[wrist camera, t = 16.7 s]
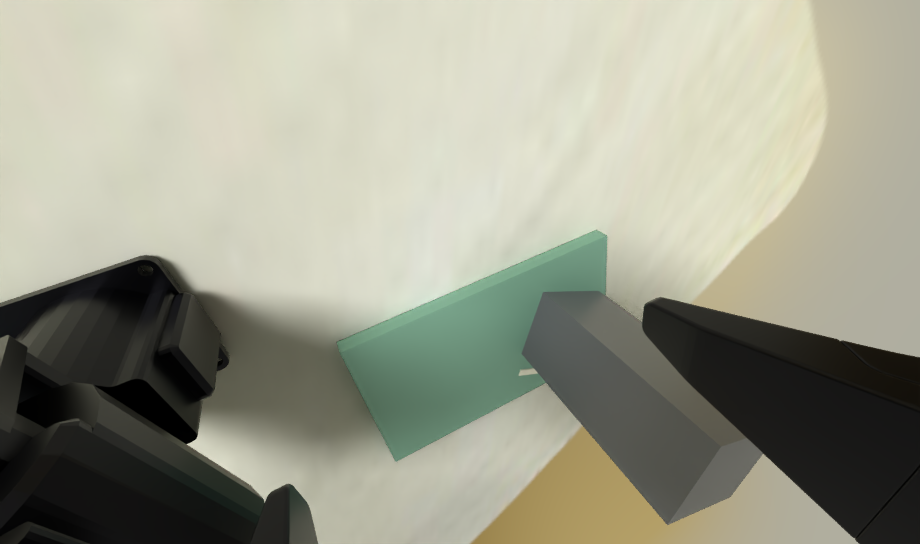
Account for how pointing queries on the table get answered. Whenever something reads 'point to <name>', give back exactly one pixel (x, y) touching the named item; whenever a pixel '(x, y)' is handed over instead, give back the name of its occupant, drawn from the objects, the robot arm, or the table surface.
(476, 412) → the board
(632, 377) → the block
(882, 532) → the robot arm
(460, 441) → the table surface
